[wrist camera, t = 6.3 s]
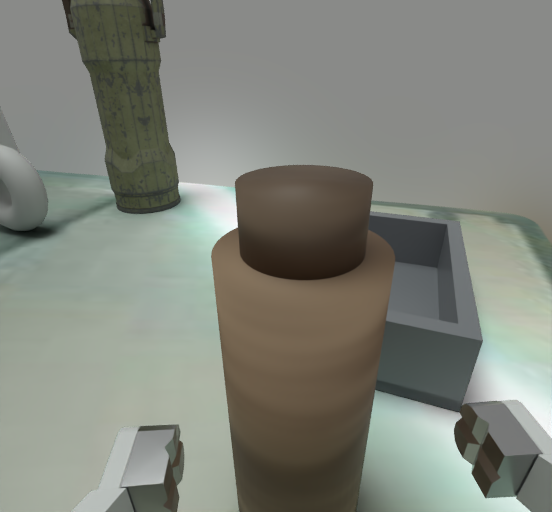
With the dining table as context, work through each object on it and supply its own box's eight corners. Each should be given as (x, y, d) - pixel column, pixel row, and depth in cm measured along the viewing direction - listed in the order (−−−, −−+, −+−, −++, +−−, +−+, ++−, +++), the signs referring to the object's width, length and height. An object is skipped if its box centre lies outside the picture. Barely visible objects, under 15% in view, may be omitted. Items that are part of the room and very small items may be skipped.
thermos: (124, 192, 55) (57, -116, 39) (198, 193, 54) (160, -123, 38) (92, 212, 48) (-8, -162, 31) (178, 214, 46) (120, -173, 30)
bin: (459, 412, 19) (482, 340, 17) (229, 349, 24) (223, 287, 21) (447, 272, 32) (459, 221, 30) (300, 249, 37) (302, 203, 35)
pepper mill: (343, 587, 13) (400, 228, 6) (216, 531, 14) (160, 200, 8) (364, 457, 17) (410, 165, 11) (264, 425, 19) (253, 155, 12)
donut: (65, 230, 42) (38, 144, 38) (38, 242, 40) (5, 150, 35) (11, 219, 46) (-20, 138, 41) (-18, 228, 43) (-54, 143, 38)
